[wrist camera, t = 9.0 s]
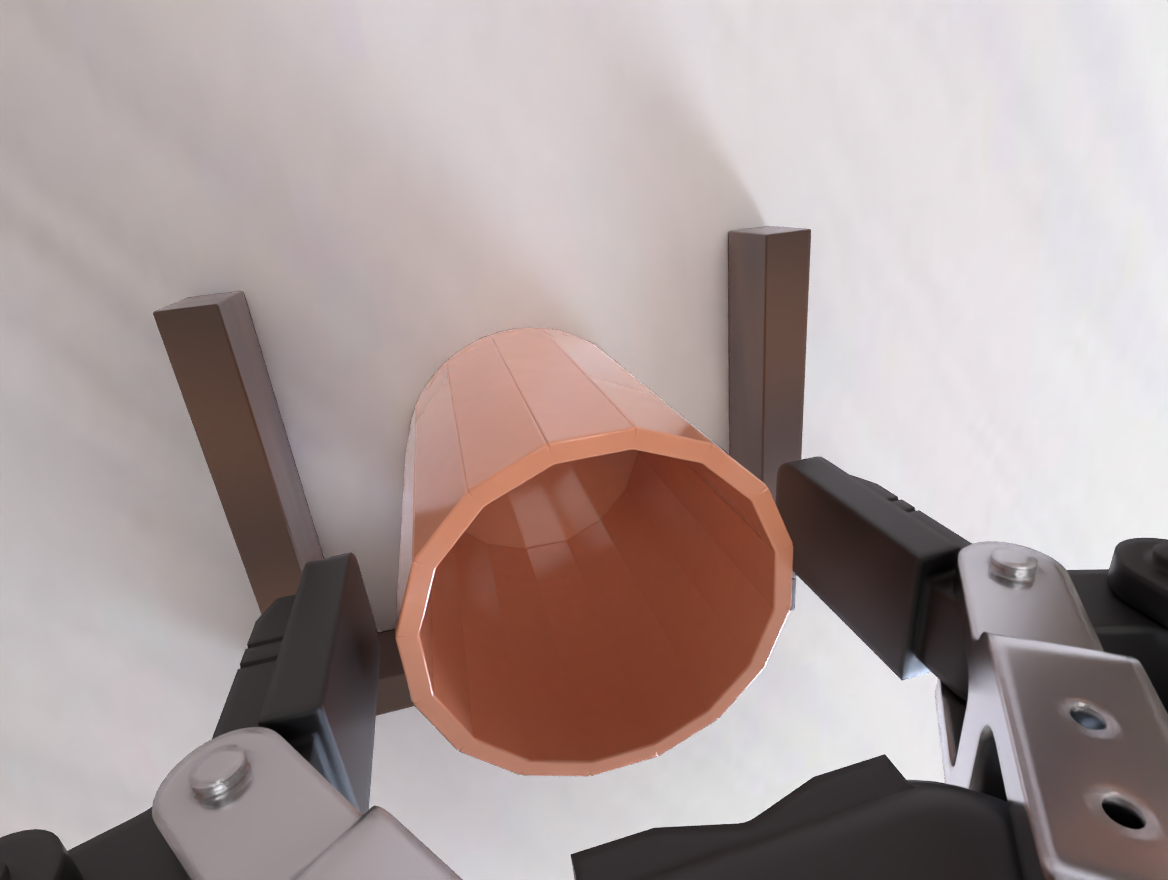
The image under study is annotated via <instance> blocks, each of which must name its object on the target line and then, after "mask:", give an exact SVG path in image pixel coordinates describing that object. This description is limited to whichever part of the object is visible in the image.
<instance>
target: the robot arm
mask: <svg viewBox="0 0 1168 880" xmlns="http://www.w3.org/2000/svg"><path fill="white" fill-rule="evenodd" d="M776 506H777V508H778V510H779V513H780V515H781V517H782V519H783V522H784V524H785V526H786V528H787V531H788V533H789V535H790V538H791V540H792V542H793V572H794V573H795V574H796V575H797V576H798V577H799V578H800V579H801V580H802V581H803V582H804V583H805V584H806V585H807V586H808V587H809V588H810V589H811V590H812V591H813V592H814V593H815V594H816V595H817V596H818V597H819V598H820V599H821V600H822V601H823V602H824V603H825V604H826V605H827V606H828V607H829V608H830V609H831V610H832V611H833V612H834V613H835V614H836V615H837V616H838V617H839V618H840V619H841V620H842V621H843V622H844V623H845V624H846V625H847V626H848V627H849V628H850V629H851V630H852V631H853V632H854V633H855V634H856V635H857V636H858V637H859V638H860V639H861V640H862V641H863V642H864V643H865V644H866V645H867V646H868V647H869V648H870V649H871V650H872V651H873V652H874V653H875V654H876V655H877V656H878V657H879V658H880V659H881V660H882V661H883V662H884V663H885V664H886V665H887V666H888V667H889V668H890V669H891V670H892V671H893V672H894V673H895V674H896V675H897V676H898V677H899V678H900V679H901V680H905V679H909V678H912V677H915V676H919V675H922V674H925V673H929V672H932V673H933V674H934V675H935V676H937V677H938V679H937V685H936V691H935V699H936V707H937V716H938V725H939V734H940V743H941V752H942V761H943V770H944V779H945V783H939V782H933V781H920V780H906V779H905V778H904V777H903V775H902V774H901V773H900V772H899V771H898V770H897V768H896V767H895V766H894V765H893V764H892V762H891V761H890V760H889V759H888V758H887V756H886V755H885V754H884V755H881V756H878V757H875V758H872V759H869V760H866V761H863V762H859V763H856V764H853V765H850V766H847V767H844V768H841V769H837V770H834V771H831V772H828V773H825V774H822V775H819V776H815V777H813V778H812V779H810V780H809V781H807V782H806V783H804V784H803V785H802V786H800V787H799V788H797V789H796V790H794V791H793V792H791V793H790V794H789V795H787V796H786V797H784V798H783V799H781V800H780V801H778V802H777V803H776V804H774V805H773V806H771V807H770V808H768V809H767V810H765V811H764V812H763V813H761V814H760V815H758V816H757V817H755V818H754V819H752V820H750V821H748V822H745V823H739V824H721V825H701V826H682V827H662V828H652V829H649V830H646V831H643V832H640V833H637V834H633V835H630V836H627V837H624V838H621V839H618V840H615V841H612V842H608V843H605V844H602V845H599V846H596V847H593V848H590V849H586V850H583V851H580V852H577V853H574V854H571V859H572V865H573V872H574V878H575V880H1168V540H1166V539H1158V538H1134V539H1128V540H1125V541H1122V542H1120V543H1119V544H1118V545H1117V546H1116V548H1115V551H1114V554H1113V558H1112V561H1111V565H1110V568H1109V569H1106V570H1066V569H1065V568H1064V567H1063V566H1062V565H1061V564H1060V563H1058V562H1057V561H1056V560H1054V559H1053V558H1051V557H1049V556H1047V555H1045V554H1043V553H1041V552H1039V551H1036V550H1034V549H1031V548H1028V547H1024V546H1021V545H1016V544H1012V543H1005V542H979V543H974V544H972V543H970V542H968V541H967V540H965V539H964V538H962V537H960V536H959V535H957V534H956V533H954V532H952V531H951V530H949V529H948V528H946V527H945V526H943V525H941V524H940V523H938V522H937V521H935V520H933V519H932V518H930V517H929V516H927V515H926V514H924V513H922V512H921V511H915V508H914V507H913V506H911V505H910V504H908V503H907V502H905V501H903V500H898V497H897V496H895V495H894V494H892V493H891V492H889V491H887V490H886V489H884V488H883V487H881V486H880V485H878V484H876V483H873V482H870V481H867V480H864V479H861V478H858V477H855V476H852V475H849V474H847V473H846V472H844V471H843V470H841V469H840V468H838V467H837V466H835V465H834V464H832V463H831V462H829V461H827V460H826V459H824V458H822V457H813V458H808V459H803V460H798V461H793V462H789V463H784V464H782V465H781V466H780V467H779V469H778V471H777V479H776ZM247 645H248V649H245V652H244V655H243V657H242V660H241V663H240V669H238V671H237V673H236V676H235V679H234V681H233V684H232V687H231V689H230V692H229V695H228V697H227V700H226V703H225V705H224V708H223V711H222V713H221V716H220V719H219V722H218V724H217V727H216V730H215V732H214V735H213V738H212V740H210V741H208V742H206V743H205V744H203V745H201V746H200V747H198V748H197V749H195V750H194V751H193V752H191V753H190V754H188V755H187V756H186V757H185V758H184V759H183V760H182V761H180V762H179V763H178V764H177V765H176V766H175V767H174V768H173V769H172V770H171V772H170V773H169V774H168V775H167V777H166V778H165V779H164V781H163V782H162V784H161V785H160V787H159V789H158V791H157V793H156V795H155V798H154V800H153V806H152V807H151V808H150V809H148V810H147V811H145V812H143V813H141V814H140V815H138V816H136V817H134V818H132V819H130V820H128V821H126V822H124V823H122V824H120V825H118V826H116V827H114V828H112V829H110V830H108V831H106V832H104V833H102V834H100V835H98V836H96V837H94V838H92V839H90V840H88V841H86V842H84V843H82V844H80V845H78V846H76V847H74V848H72V849H70V850H68V851H67V850H66V849H65V847H64V846H63V844H62V843H61V841H60V839H59V838H58V837H57V836H56V835H55V834H54V833H52V832H49V831H46V830H37V829H34V830H25V831H20V832H16V833H12V834H9V835H7V836H4V837H1V838H0V880H462V879H461V878H460V877H459V876H458V875H457V874H456V873H455V872H454V871H453V870H451V869H450V868H449V867H448V866H447V865H446V864H445V863H444V862H443V861H442V860H441V859H439V858H438V857H437V856H436V855H435V854H434V853H433V852H432V851H431V850H430V849H429V848H427V847H426V846H425V845H424V844H423V843H422V842H421V841H420V840H419V839H418V838H417V837H415V836H414V835H413V834H412V833H411V832H410V831H409V830H408V829H407V828H406V827H405V826H403V825H402V824H401V823H400V822H399V821H398V820H397V819H396V818H395V817H394V816H392V815H391V814H390V813H389V812H387V811H386V810H385V809H383V808H381V807H379V806H373V807H372V808H370V809H369V797H370V784H371V771H372V758H373V745H374V732H375V719H376V706H377V693H378V680H379V667H380V649H379V640H378V634H377V629H376V625H375V621H374V618H373V614H372V611H371V607H370V604H369V600H368V596H367V593H366V589H365V586H364V582H363V579H362V575H361V572H360V568H359V565H358V562H357V559H356V557H355V555H354V554H353V553H348V554H343V555H339V556H334V557H329V558H324V559H319V560H315V561H310V562H307V563H306V564H305V566H304V570H303V573H302V576H301V580H300V583H299V586H298V590H297V593H296V594H295V595H290V596H286V597H281V598H277V599H276V600H275V601H274V602H273V603H272V604H271V605H270V607H269V608H268V609H267V610H266V611H265V612H264V613H263V614H262V615H261V616H260V617H259V619H258V620H257V621H256V623H255V625H254V628H253V631H252V633H251V636H250V639H249V641H248V644H247Z"/></svg>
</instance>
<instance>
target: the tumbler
mask: <svg viewBox="0 0 1168 880" xmlns="http://www.w3.org/2000/svg"><path fill="white" fill-rule="evenodd" d="M792 572H793V542H792V540H791V538H790V535H789V533H788V531H787V528H786V526H785V524H784V522H783V519H782V517H781V515H780V513H779V510H778V508H777V506H776V504H775V501H774V499H773V497H772V495H771V492H770V490H769V488H768V487H767V486H766V484H765V483H764V482H762V481H761V480H760V479H759V478H757V477H756V476H755V475H754V474H753V473H751V472H750V471H749V470H748V469H747V468H745V467H744V466H743V465H742V464H740V463H739V462H738V461H737V460H736V459H734V458H733V457H732V456H731V455H729V454H728V453H727V452H726V451H725V450H723V449H722V448H721V447H720V446H718V445H717V444H716V443H715V442H714V441H712V440H711V439H710V438H709V437H708V436H706V435H705V434H704V433H703V432H701V431H700V430H699V429H698V428H697V427H695V426H694V425H693V424H692V423H690V422H689V421H688V420H687V419H686V418H684V417H683V416H682V415H681V414H679V413H678V412H677V411H676V410H675V409H673V408H672V407H671V406H670V405H669V404H667V403H666V402H665V401H664V400H662V399H661V398H660V397H659V396H658V395H656V394H655V393H654V392H653V391H651V390H650V389H649V388H648V387H647V386H645V385H644V384H643V383H642V382H641V381H639V380H638V379H637V378H636V377H634V376H633V375H632V374H631V373H630V372H628V371H627V370H626V369H625V368H623V367H622V366H621V365H620V364H618V363H617V362H616V361H614V360H613V359H612V358H611V357H609V356H608V355H607V354H606V353H605V352H603V351H602V350H601V349H599V348H598V347H597V346H595V345H594V344H593V343H591V342H589V341H586V340H584V339H582V338H580V337H578V336H575V335H572V334H569V333H566V332H563V331H558V330H553V329H547V328H518V329H511V330H506V331H502V332H497V333H495V334H492V335H489V336H486V337H483V338H481V339H479V340H477V341H475V342H473V343H471V344H469V345H467V346H466V347H464V348H463V349H461V350H460V351H458V352H457V353H456V354H454V355H453V356H452V357H451V358H450V359H448V360H447V361H446V362H445V363H444V364H443V365H442V366H441V367H440V368H439V369H438V370H437V372H436V373H435V374H434V375H433V376H432V377H431V379H430V380H429V382H428V383H427V385H426V386H425V388H424V390H423V391H422V393H421V395H420V397H419V400H418V402H417V404H416V406H415V409H414V413H413V416H412V419H411V424H410V431H409V438H408V443H407V447H406V454H405V471H404V488H403V505H402V523H401V540H400V557H399V575H398V592H397V609H396V627H395V640H396V644H397V647H398V651H399V655H400V659H401V663H402V666H403V670H404V674H405V678H406V681H407V685H408V689H409V693H410V696H411V700H412V702H413V703H414V705H415V707H416V708H417V709H418V710H419V711H420V712H421V713H422V714H423V715H424V716H425V717H426V718H427V719H428V720H429V721H430V722H431V723H432V724H433V725H434V726H435V727H436V728H437V730H438V731H439V732H440V733H441V734H442V735H443V736H444V737H445V738H446V739H447V740H448V741H449V742H450V743H451V744H452V745H453V746H454V747H455V748H456V749H457V750H459V751H460V752H462V753H464V754H467V755H469V756H472V757H475V758H477V759H480V760H482V761H485V762H488V763H490V764H493V765H495V766H498V767H500V768H503V769H506V770H508V771H511V772H513V773H516V774H519V775H520V774H521V775H532V776H589V775H591V776H593V775H596V774H600V773H603V772H607V771H610V770H614V769H617V768H621V767H624V766H627V765H631V764H634V763H638V762H641V761H645V760H648V759H652V758H655V757H657V755H658V756H660V755H661V754H663V753H665V752H666V751H668V750H670V749H671V748H673V747H674V746H676V745H678V744H679V743H681V742H682V741H684V740H686V739H687V738H689V737H690V736H692V735H694V734H695V733H697V732H698V731H700V730H702V729H703V728H705V727H707V726H708V725H710V724H711V723H713V722H715V721H716V720H717V718H720V717H721V715H722V714H723V713H724V712H725V711H726V710H727V709H728V708H729V707H730V706H731V704H732V703H733V702H734V701H735V700H736V699H737V698H738V697H739V696H740V694H741V693H742V692H743V691H744V690H745V689H746V688H747V687H748V686H749V685H750V683H751V682H752V681H753V680H754V679H755V678H756V677H757V676H758V675H759V673H760V672H761V671H762V670H763V668H764V667H765V665H766V663H767V661H768V659H769V656H770V654H771V652H772V650H773V648H774V645H775V643H776V641H777V639H778V636H779V634H780V632H781V630H782V627H783V625H784V623H785V621H786V618H787V616H788V614H789V612H790V607H791V597H792Z"/></svg>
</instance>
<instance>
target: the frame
mask: <svg viewBox="0 0 1168 880" xmlns="http://www.w3.org/2000/svg"><path fill="white" fill-rule="evenodd" d="M810 243H811V230H810V229H802V228H788V227H774V226H765V227H757V228H749V229H741V230H733V231H730V232H729V356H730V455H731V456H732V457H733V458H734V459H736V460H737V461H738V462H739V463H740V464H742V465H743V466H744V467H745V468H747V469H748V470H749V471H750V472H751V473H753V474H754V475H755V476H756V477H757V478H759V479H760V480H761V481H762V482H764V483H765V484H766V486H767V487H768V488H769V490H770V492H771V495H772V497H773V499H774V501H775V504H776V479H777V471H778V469H779V467H780V466H781V465H782V464H784V463H789V462H793V461H798V460H801V451H802V428H803V405H804V382H805V359H806V336H807V313H808V290H809V266H810ZM153 315H154V318H155V320H156V323H157V326H158V329H159V332H160V334H161V337H162V340H163V343H164V345H165V348H166V351H167V354H168V356H169V359H170V362H171V365H172V368H173V370H174V373H175V376H176V379H177V381H178V384H179V387H180V390H181V392H182V395H183V398H184V401H185V403H186V406H187V409H188V412H189V415H190V417H191V420H192V423H193V426H194V428H195V431H196V434H197V437H198V439H199V442H200V445H201V448H202V451H203V453H204V456H205V459H206V462H207V464H208V467H209V470H210V473H211V475H212V478H213V481H214V484H215V487H216V489H217V492H218V495H219V498H220V500H221V503H222V506H223V509H224V511H225V514H226V517H227V520H228V523H229V525H230V528H231V531H232V534H233V536H234V539H235V542H236V545H237V547H238V550H239V553H240V556H241V559H242V561H243V564H244V567H245V570H246V572H247V575H248V578H249V581H250V583H251V586H252V589H253V592H254V595H255V597H256V600H257V603H258V606H259V608H260V611H261V614H263V613H264V612H265V611H266V610H267V609H268V608H269V607H270V605H271V604H272V603H273V602H274V601H275V600H276V599H277V598H281V597H286V596H290V595H295V594H296V593H297V590H298V586H299V583H300V580H301V576H302V573H303V570H304V566H305V564H306V563H307V562H310V561H315V560H319V559H324V558H323V555H322V552H321V548H320V545H319V542H318V538H317V535H316V532H315V528H314V525H313V522H312V518H311V515H310V512H309V509H308V505H307V502H306V499H305V495H304V492H303V489H302V485H301V482H300V479H299V475H298V472H297V469H296V465H295V462H294V459H293V455H292V452H291V449H290V445H289V442H288V439H287V436H286V432H285V429H284V426H283V422H282V419H281V416H280V412H279V409H278V406H277V402H276V399H275V396H274V392H273V389H272V386H271V382H270V379H269V376H268V372H267V369H266V366H265V363H264V359H263V356H262V353H261V349H260V346H259V343H258V339H257V336H256V333H255V329H254V326H253V323H252V319H251V316H250V313H249V309H248V306H247V303H246V300H245V296H244V293H243V292H242V291H237V292H229V293H221V294H213V295H205V296H197V297H189V298H186V299H183V300H181V301H179V302H176V303H174V304H171V305H169V306H167V307H164V308H162V309H159V310H157V311H155V312H153ZM795 577H796V574H795V573H794V572H792V597H791V607H790V611H791V610H794V609H795V588H796V578H795ZM378 640H379V649H380V667H379V680H378V693H377V706H376V716H377V715H381V714H385V713H389V712H393V711H396V710H400V709H404V708H408V707H412V706H415V705H414V703H413V702H412V700H411V696H410V693H409V689H408V685H407V681H406V678H405V674H404V670H403V666H402V663H401V659H400V655H399V651H398V647H397V644H396V640H395V630H391V631H386V632H382V633H378Z"/></svg>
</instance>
